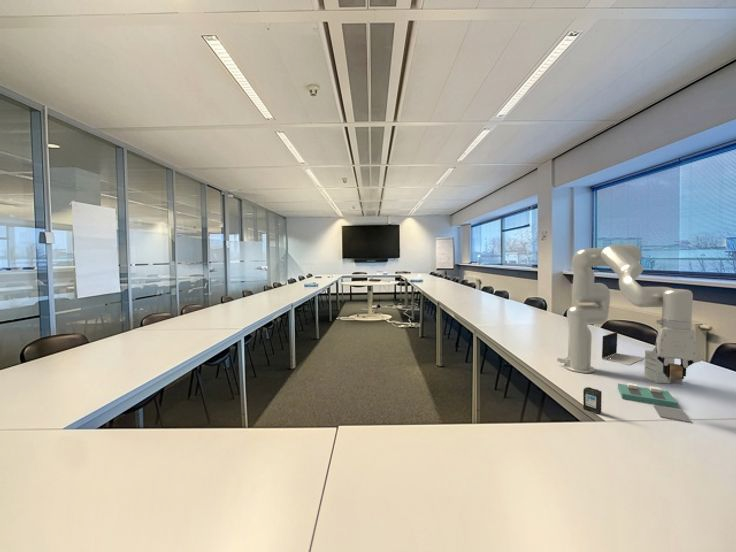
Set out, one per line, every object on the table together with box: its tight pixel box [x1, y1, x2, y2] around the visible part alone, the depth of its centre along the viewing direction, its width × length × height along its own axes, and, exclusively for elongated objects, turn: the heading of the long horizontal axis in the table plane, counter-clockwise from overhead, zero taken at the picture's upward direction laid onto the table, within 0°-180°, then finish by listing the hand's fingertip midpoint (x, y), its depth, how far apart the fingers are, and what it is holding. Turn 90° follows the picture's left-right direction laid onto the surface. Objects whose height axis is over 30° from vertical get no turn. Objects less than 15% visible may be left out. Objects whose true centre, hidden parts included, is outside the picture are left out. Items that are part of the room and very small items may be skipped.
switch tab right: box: [649, 385, 662, 393], centre depth 130 cm, size 3×2×1 cm
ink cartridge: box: [582, 386, 602, 415], centre depth 118 cm, size 5×2×8 cm, turn 32°
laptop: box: [601, 331, 643, 366], centre depth 178 cm, size 18×12×13 cm
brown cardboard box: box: [667, 363, 683, 386], centre depth 114 cm, size 3×4×6 cm
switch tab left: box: [627, 382, 639, 389], centre depth 134 cm, size 3×2×1 cm
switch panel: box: [617, 383, 678, 409], centre depth 130 cm, size 16×12×2 cm
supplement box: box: [643, 350, 676, 384], centre depth 147 cm, size 7×7×13 cm
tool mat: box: [652, 404, 693, 424], centre depth 116 cm, size 8×10×1 cm
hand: (674, 376), depth 115 cm, fingers closed on brown cardboard box, 3 cm apart
